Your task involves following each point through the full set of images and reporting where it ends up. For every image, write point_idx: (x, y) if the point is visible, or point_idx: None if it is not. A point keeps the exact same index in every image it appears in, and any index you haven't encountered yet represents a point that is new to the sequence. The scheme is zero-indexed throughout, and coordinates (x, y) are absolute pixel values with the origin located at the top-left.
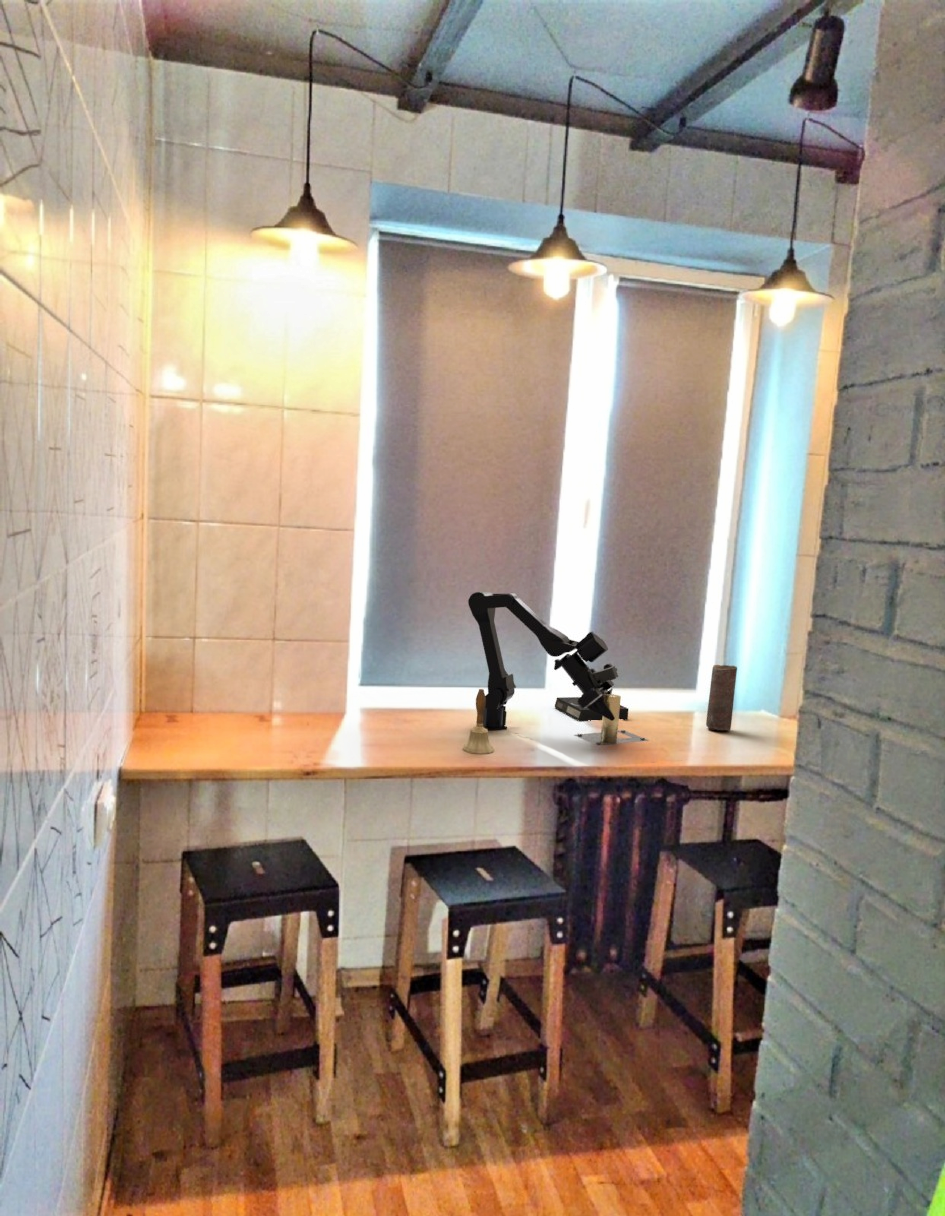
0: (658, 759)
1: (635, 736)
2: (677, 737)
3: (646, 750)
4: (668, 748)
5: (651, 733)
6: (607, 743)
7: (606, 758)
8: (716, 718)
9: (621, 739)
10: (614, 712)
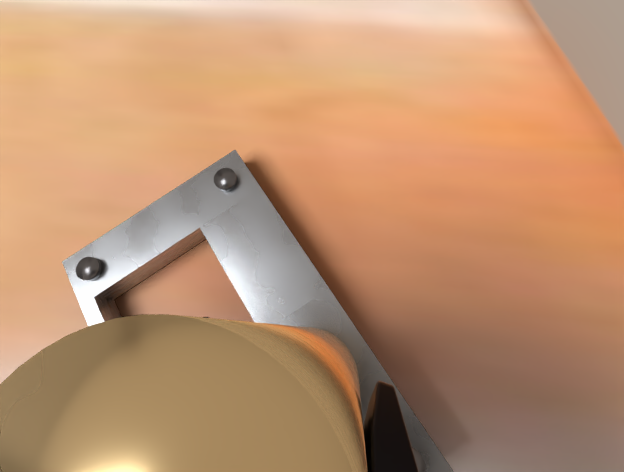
0: (479, 137)
1: (175, 211)
2: (86, 48)
3: (332, 179)
4: (266, 87)
5: (35, 138)
6: None
7: (600, 417)
8: None
9: (257, 293)
10: (357, 401)
